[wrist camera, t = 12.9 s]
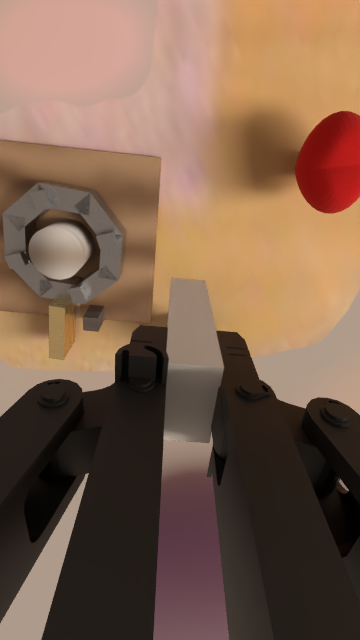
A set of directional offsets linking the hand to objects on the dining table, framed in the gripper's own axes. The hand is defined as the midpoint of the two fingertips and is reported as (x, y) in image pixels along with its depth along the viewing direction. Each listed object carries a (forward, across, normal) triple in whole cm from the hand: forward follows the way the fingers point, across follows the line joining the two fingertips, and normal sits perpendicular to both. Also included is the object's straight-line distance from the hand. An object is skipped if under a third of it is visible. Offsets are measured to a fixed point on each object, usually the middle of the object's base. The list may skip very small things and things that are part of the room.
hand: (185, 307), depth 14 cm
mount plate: (+29, -14, -5) cm, 33 cm away
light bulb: (+30, +15, +7) cm, 34 cm away
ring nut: (+28, -14, -9) cm, 33 cm away
